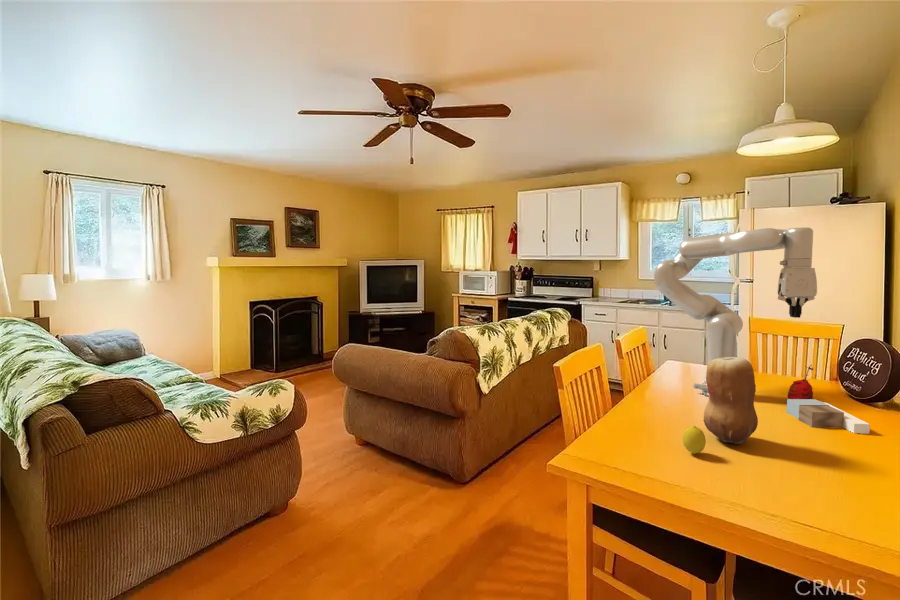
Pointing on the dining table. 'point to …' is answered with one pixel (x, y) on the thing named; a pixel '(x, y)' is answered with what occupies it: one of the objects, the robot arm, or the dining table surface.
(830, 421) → the walnut block
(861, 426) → the stop rail
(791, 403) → the slate block
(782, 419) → the dining table surface
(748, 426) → the butternut squash
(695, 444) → the lemon
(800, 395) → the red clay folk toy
